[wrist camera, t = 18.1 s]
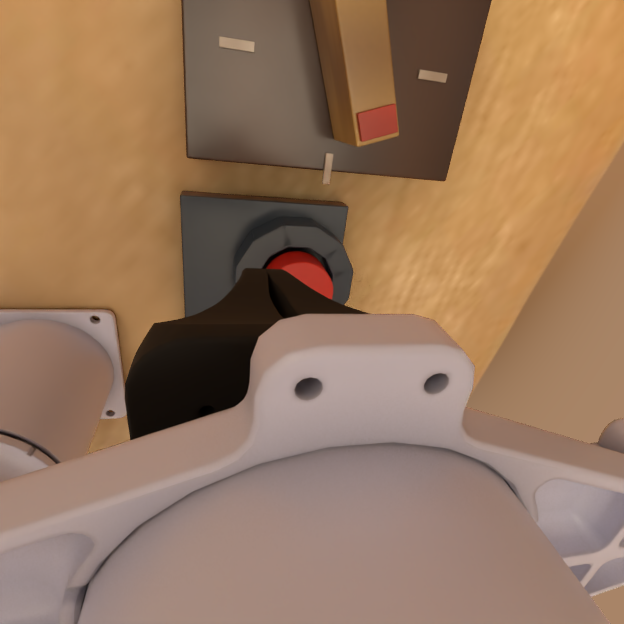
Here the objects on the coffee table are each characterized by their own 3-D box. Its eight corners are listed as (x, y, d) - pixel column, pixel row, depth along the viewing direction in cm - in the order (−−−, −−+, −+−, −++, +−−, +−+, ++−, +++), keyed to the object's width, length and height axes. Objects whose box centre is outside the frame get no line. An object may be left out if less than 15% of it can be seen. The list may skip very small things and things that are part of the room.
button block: (187, 322, 24) (183, 347, 22) (181, 190, 21) (176, 202, 18) (329, 321, 26) (341, 344, 24) (346, 202, 23) (363, 214, 20)
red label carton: (304, -23, 15) (328, -57, 12) (348, -33, 15) (383, -69, 12) (333, 140, 18) (358, 148, 15) (369, 130, 18) (402, 136, 15)
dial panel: (190, 163, 20) (186, 172, 17) (182, -107, 15) (175, -152, 13) (417, 183, 23) (444, 193, 20) (467, -37, 19) (510, -61, 16)
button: (260, 310, 22) (263, 325, 20) (263, 249, 20) (267, 260, 19) (321, 310, 23) (328, 324, 21) (329, 251, 21) (338, 263, 20)
